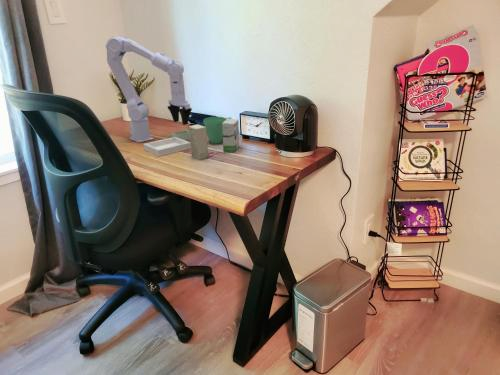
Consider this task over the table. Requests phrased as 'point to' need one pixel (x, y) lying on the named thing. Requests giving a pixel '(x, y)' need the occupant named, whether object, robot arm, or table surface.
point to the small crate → (181, 135)
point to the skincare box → (198, 141)
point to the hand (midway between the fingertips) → (180, 122)
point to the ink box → (230, 135)
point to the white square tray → (167, 146)
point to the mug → (214, 128)
